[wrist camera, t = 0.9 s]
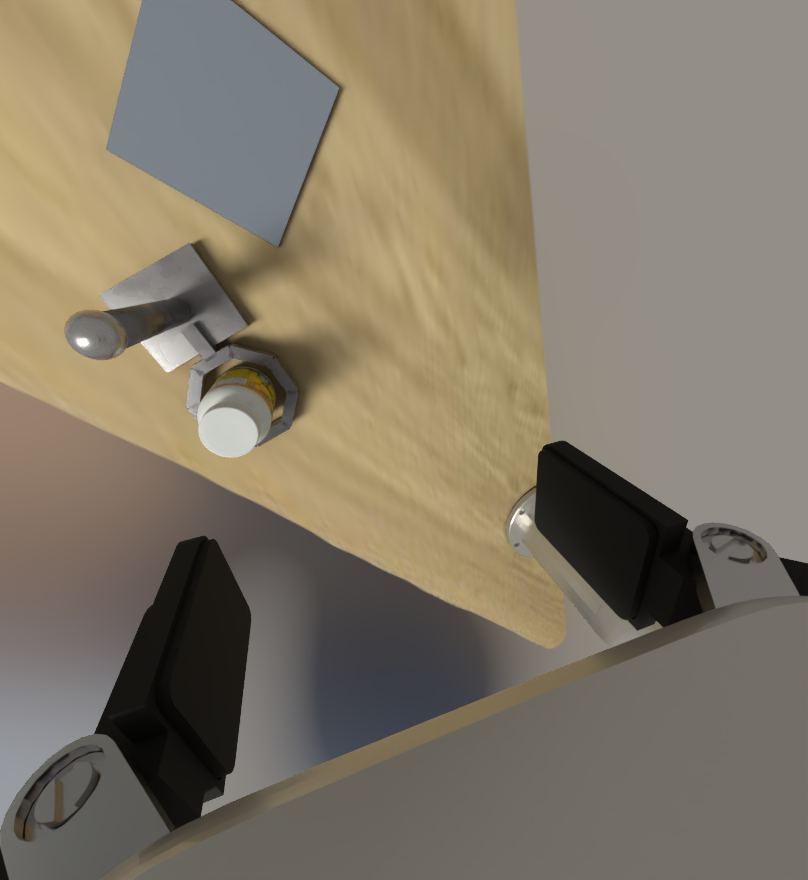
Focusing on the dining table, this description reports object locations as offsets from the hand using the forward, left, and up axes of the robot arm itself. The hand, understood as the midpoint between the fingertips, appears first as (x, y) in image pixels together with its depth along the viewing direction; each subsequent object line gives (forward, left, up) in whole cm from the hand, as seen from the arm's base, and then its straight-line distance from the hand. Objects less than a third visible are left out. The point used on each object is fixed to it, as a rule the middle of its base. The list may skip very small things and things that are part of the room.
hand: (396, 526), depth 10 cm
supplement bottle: (+5, +7, -28) cm, 29 cm away
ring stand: (+8, +5, -28) cm, 29 cm away
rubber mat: (+13, -12, -28) cm, 33 cm away
